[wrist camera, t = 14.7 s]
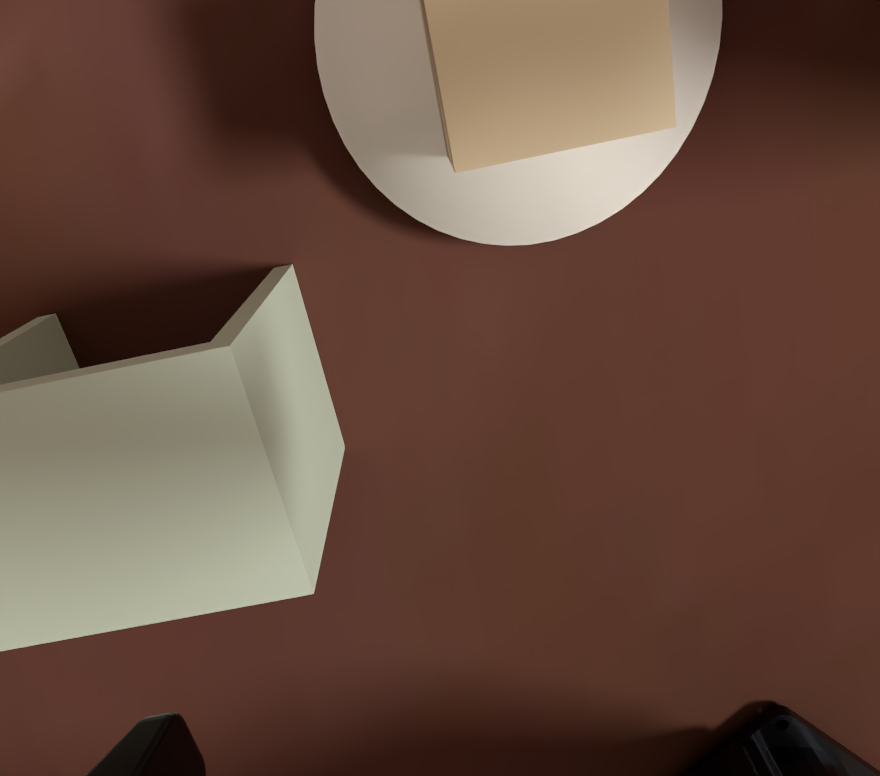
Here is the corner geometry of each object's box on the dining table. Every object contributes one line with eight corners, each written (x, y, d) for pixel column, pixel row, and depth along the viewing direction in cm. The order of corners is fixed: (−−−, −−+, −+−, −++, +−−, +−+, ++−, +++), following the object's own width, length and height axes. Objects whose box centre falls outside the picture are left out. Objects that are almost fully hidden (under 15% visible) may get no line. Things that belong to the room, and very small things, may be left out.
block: (616, 120, 16) (676, 127, 12) (447, 156, 16) (454, 173, 13) (598, -81, 14) (659, -142, 11) (411, -39, 15) (408, -85, 11)
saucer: (785, 12, 16) (807, 6, 15) (529, 306, 19) (535, 317, 18) (490, -309, 14) (496, -338, 13) (244, 77, 16) (234, 75, 15)
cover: (345, 447, 20) (313, 593, 14) (115, 491, 21) (-10, 653, 15) (292, 263, 18) (230, 345, 12) (38, 317, 18) (-146, 421, 12)
